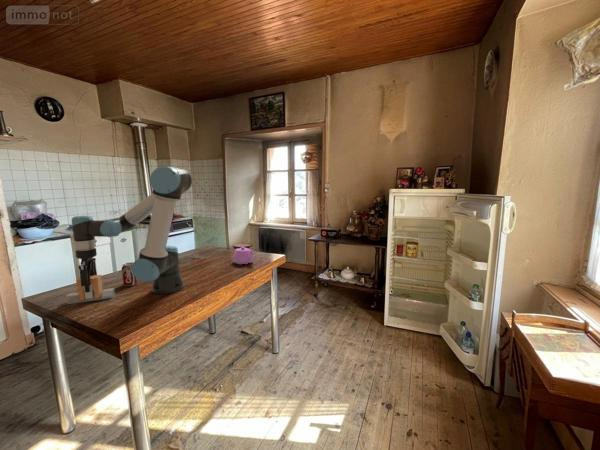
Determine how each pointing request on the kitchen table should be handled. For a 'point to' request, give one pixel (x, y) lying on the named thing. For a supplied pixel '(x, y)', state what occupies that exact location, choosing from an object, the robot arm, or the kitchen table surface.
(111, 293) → the grey segmented bar
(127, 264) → the soda can
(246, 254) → the teapot
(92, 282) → the upright orange wooden block
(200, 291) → the kitchen table surface
